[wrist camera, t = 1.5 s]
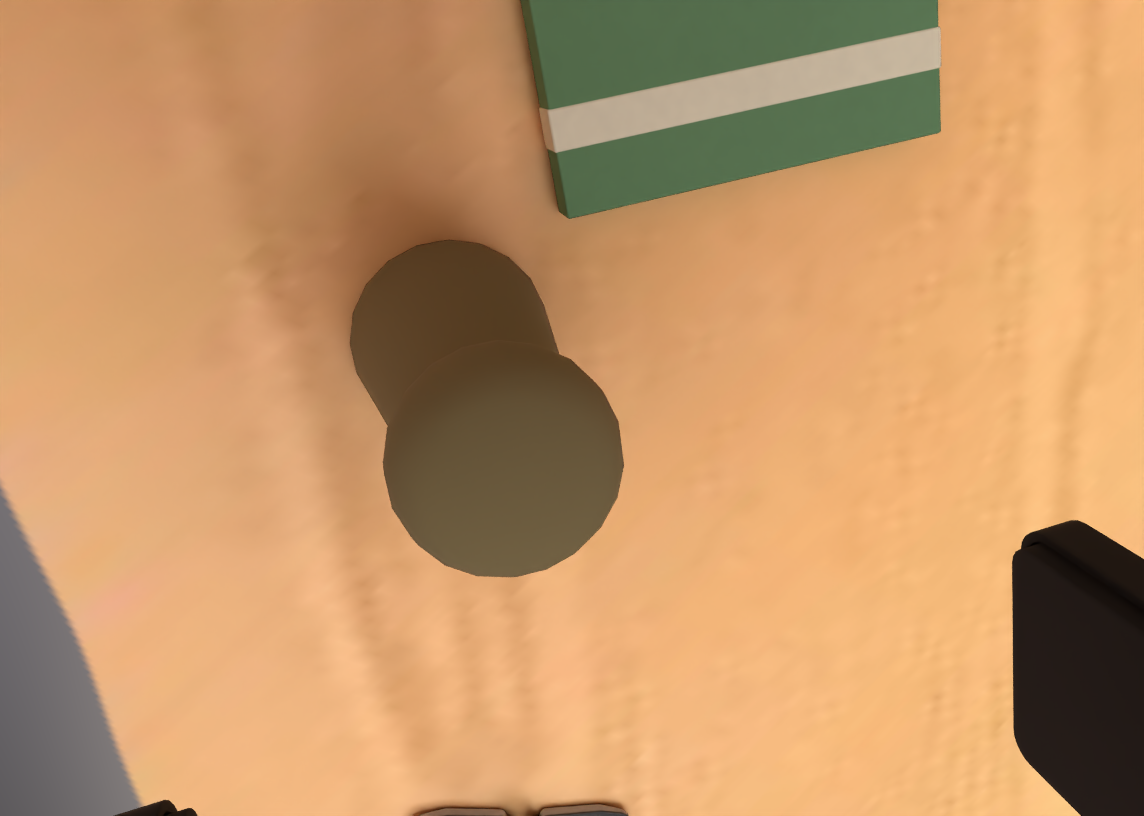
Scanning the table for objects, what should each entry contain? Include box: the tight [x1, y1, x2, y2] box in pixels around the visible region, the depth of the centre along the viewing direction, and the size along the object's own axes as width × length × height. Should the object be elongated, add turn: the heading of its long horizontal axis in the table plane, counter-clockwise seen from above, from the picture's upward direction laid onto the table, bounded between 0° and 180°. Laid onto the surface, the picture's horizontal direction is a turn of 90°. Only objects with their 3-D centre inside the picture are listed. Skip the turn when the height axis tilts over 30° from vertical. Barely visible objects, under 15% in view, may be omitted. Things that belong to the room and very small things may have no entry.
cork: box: [350, 240, 624, 577], centre depth 24 cm, size 6×6×11 cm
